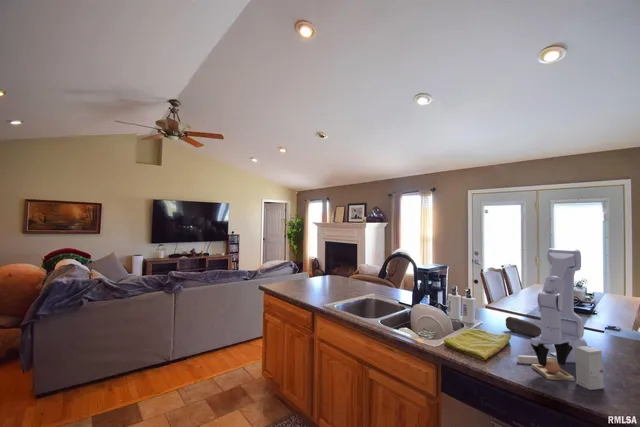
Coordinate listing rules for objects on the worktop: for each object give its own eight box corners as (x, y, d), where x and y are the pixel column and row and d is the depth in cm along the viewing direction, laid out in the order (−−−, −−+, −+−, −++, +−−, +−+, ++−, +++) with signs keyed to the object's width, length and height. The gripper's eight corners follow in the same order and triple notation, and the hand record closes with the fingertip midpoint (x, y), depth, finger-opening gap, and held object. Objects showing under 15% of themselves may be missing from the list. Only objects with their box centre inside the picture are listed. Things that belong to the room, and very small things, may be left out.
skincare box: (590, 390, 92) (589, 352, 93) (575, 383, 97) (573, 346, 97) (604, 388, 94) (603, 350, 94) (589, 381, 98) (587, 345, 99)
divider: (555, 363, 111) (555, 357, 111) (558, 365, 109) (557, 358, 110) (517, 361, 112) (517, 355, 112) (519, 363, 111) (519, 356, 111)
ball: (551, 369, 105) (551, 357, 105) (563, 375, 101) (563, 362, 101) (541, 369, 105) (541, 357, 105) (552, 376, 100) (552, 363, 101)
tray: (556, 368, 107) (556, 365, 107) (574, 380, 98) (574, 377, 98) (531, 367, 107) (531, 364, 107) (547, 379, 99) (547, 375, 99)
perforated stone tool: (544, 337, 138) (543, 323, 138) (540, 340, 134) (539, 325, 135) (509, 328, 150) (508, 315, 150) (504, 330, 147) (504, 317, 147)
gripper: (557, 322, 108) (559, 358, 108) (523, 323, 107) (524, 360, 106) (576, 328, 102) (578, 367, 101) (540, 329, 100) (541, 369, 99)
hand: (551, 364), depth 103 cm, fingers open, 7 cm apart
